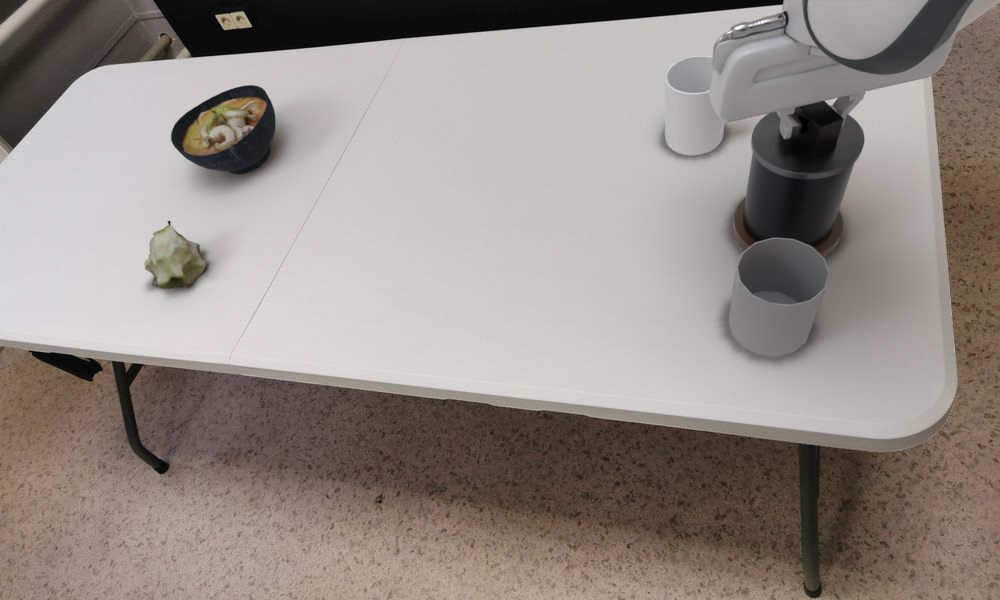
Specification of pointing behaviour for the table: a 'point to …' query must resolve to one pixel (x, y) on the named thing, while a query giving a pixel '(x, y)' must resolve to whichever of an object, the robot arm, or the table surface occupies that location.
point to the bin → (800, 174)
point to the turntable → (748, 241)
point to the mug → (691, 107)
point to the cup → (776, 296)
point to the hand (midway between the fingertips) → (810, 129)
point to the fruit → (173, 259)
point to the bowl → (228, 131)
